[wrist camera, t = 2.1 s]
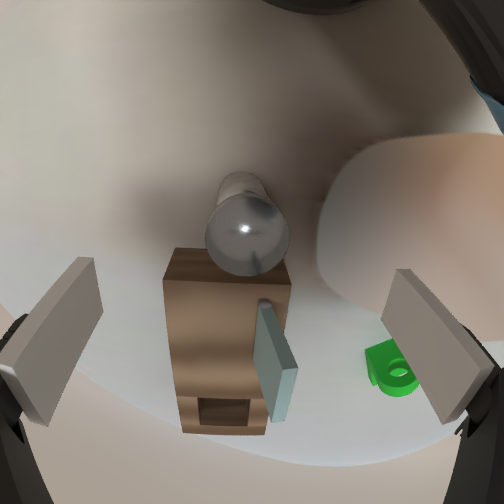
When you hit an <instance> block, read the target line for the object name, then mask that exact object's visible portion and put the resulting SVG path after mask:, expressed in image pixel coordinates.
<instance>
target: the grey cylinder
mask: <svg viewBox="0 0 504 504" xmlns="http://www.w3.org/2000/svg"><path fill="white" fill-rule="evenodd" d="M289 239H290V234H289V228H288V224H287V222H286V220H285V218H284V216H283V214H282V212H281V210H280V209H279V208H278V206H277V205H276V204H275V203H274V202H272V201H271V200H270V199H268V196H267V194H266V192H265V190H264V187H263V185H262V183H261V181H260V180H259V179H258V178H257V177H256V176H254V175H253V174H250V173H247V172H236V173H233V174H231V175H229V176H228V177H226V178H225V179H224V180H223V182H222V183H221V185H220V188H219V193H218V200H217V206H216V207H215V209H214V210H213V212H212V213H211V215H210V217H209V220H208V224H207V229H206V236H205V240H206V247H207V250H208V253H209V255H210V257H211V258H212V260H213V261H214V262H215V263H216V264H217V265H218V266H219V267H220V268H221V269H223V270H225V271H226V272H229V273H231V274H234V275H238V276H255V275H259V274H262V273H265V272H267V271H269V270H271V269H272V268H273V267H275V266H276V265H277V264H278V263H279V262H280V261H281V260H282V258H283V257H284V255H285V253H286V251H287V249H288V246H289Z"/></svg>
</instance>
